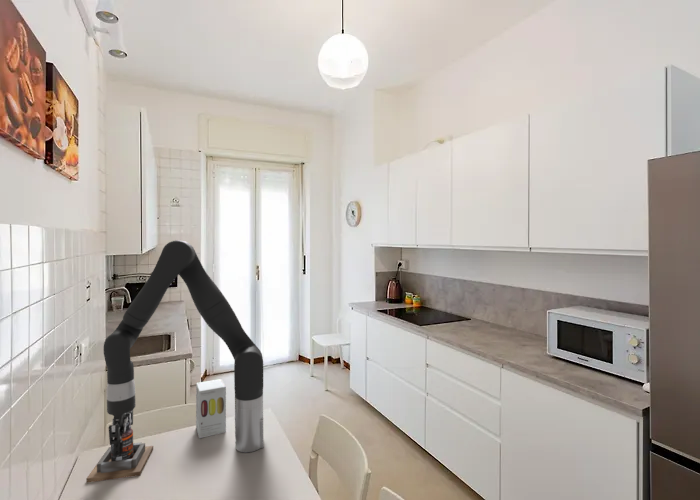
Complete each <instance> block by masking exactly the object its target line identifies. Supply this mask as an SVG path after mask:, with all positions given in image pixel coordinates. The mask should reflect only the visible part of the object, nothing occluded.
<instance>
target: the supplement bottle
mask: <svg viewBox="0 0 700 500" xmlns="http://www.w3.org/2000/svg"><path fill="white" fill-rule="evenodd" d="M122 430H123V429H120V431H122ZM116 439H117V437H116ZM133 443H134V430H133V428H132V427H131V428H130V427H129V422H127V424H126V432H125V433H124V434H123V453H122V454H121V455H114V444H112V445H110V447H111V461H118V460H126V459H132V458H133V454H134V453H133V451H134V450H133Z"/></svg>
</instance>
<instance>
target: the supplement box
mask: <svg viewBox="0 0 700 500" xmlns="http://www.w3.org/2000/svg"><path fill="white" fill-rule="evenodd" d="M195 385H196V386H195V392H196V394H195V396H196V397H195V400H196V401H195V404H196V405H195V418H196V419H195V427H196V428H195V429H196V432H197V435H198V438H199V439H202V438H207V437H210V436H215V435H219V434H224V433H226V432H227V431H226V430H227V429H226V428H227V423H226V422H227V414H226V413H227V396H226V395H227V388H226V384H225V383H224V381H223V379H222V378H219V379H212V380H206V381H200V382H199V381H198V382H196V384H195Z"/></svg>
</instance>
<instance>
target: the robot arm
mask: <svg viewBox="0 0 700 500" xmlns="http://www.w3.org/2000/svg"><path fill="white" fill-rule="evenodd" d="M194 248H195V247H194V246H193V245H192V244H191V243H189V242H188V241H185V240H181V239H180V240H178V239H177V240H176V239H175V240H172V241H169V242H167V244H165V245H164V246H163V248H162V251H161V253H160V255H159V257H158V260H157V262H156V265H155V267H154V268H153V270H152V272H151V274H150V276H149V277H148V279H147V280H146V282H145V283H144V285H143V286H142V288H140V291H139V292H138V294H137V295H136V296H135V297H134V299H133V300H132V301H131V303H130V305H129V306H128V308H127V309H126V311H125V312H124V314H123V316H122V319H121V321H120V323H119V324H118V326H117V327H116V329H115V330H114V331H113V332H112V333H111V334H110V335H108V336H107V337H106V339H104V343H103V357H104V361H105V365H106V369H107V370H106V377H107V379H106V381H107V385H106V412H107V414H108V415H110V416H113V418H112V419H111V420H112V422H111V425H108V438H109V439H108V440H109V445H110V446H111V445H112V444H114V455H121V454H122V453H123V434H124V433H125V432H126V424H127V422H129V427H130V428H132V426H133V425H134V409H135V408H136V383H135V368H134V367H135V366H134V362H133V360H132V359H131V348H132V347H133V346H134V344H135V343H136V342H137V340H138V338H139V336H140V335H141V334H142V331H143V329H144V327H145V326H146V325H147V324H148V322H149V321H150V320H151V318H152V317H153V315H154V314H155V312H156V310H157V309H158V307H159V305H160V304H161V302H162V299H163V298H164V296H165V294H166V292H167V290H168V288H169V287H170V286H171V285H172V282H173V281H174V280H175V279H176V278H177V277H178V275H179V276H180V278H181V279H182V280H183V282H184V283H185V285H186V287H187V290H188V292H189V293H190V294H189V295H190V296H191V300H192V301H193V303H194V306H195V308H196V309H197V311H198V313H199V314H200V316H201V318H202V319H203V321H204V322H205V324H206V325H207V326H208V327H209V328H210V329H211V330H212V331H213V332H214V334H216V335H217V336H218V337H219V338H220V339H221V340H222V341H223V342H224V343H225V345H226V346H227V348H228V350H229V352H230V353H231V355H232V357H233V360H234V364H233V365H234V366H233V368H234V369H233V373H234V374H233V380H234V384H233V385H234V387H233V388H234V429H235V430H234V437H235V438H234V445H235V446H234V447H235V448H234V449H235V450H236V451H238V452H239V453H252V452H255V451H257V450H260V449H263V448H264V357H263V353H262V352H261V350H260V348H259V347H258V346H257V345H256V344H255V343H254V341H253V340H252V339H251V337H249V335H248V334H247V333H246V331H245V329H244V328H243V326H242V324H241V322H240V321H239V318H238V316H237V315H236V313H235V311H234V309H233V308H232V305H231V304H230V303H229V302H228V300H227V298H226V297H225V295H224V294H223V293H222V291H221V290H220V289H219V287H218V285H217V284H216V283H215V282H214V280H212V278H211V277H210V276H209V275H208V273H207V271H206V269H205V268H204V266H203V264H202V263H201V260H200V259H199V256H198V254H197V252H196V250H195V249H194ZM120 429H123V430H122V431H120ZM116 437H117V439H116Z"/></svg>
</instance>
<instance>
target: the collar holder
mask: <svg viewBox="0 0 700 500" xmlns="http://www.w3.org/2000/svg"><path fill="white" fill-rule="evenodd" d="M133 450H134V451H133V453H134V454H133V458H132V459H126V460H118V461H111V446H108V448H107V449H106V451H105V452H104V453H103V455H102V456H101V458H100V459H99V461H98V462H97V463H96V465H95V466H94V467H93V468H92V470H91V471H90V473H89V474H88V476H87V477H86V483H87V484H88V483H94V482H101V481H109V480H115V479H117V480H118V479H122V478H130V477H138V476H141V475H142V473H143V471H144V469H145V467H146V466H147V463H148V461H149V459H150V457H151V455H152V453H153V451H154V445H149V446H146V443H145V442H133Z"/></svg>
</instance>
